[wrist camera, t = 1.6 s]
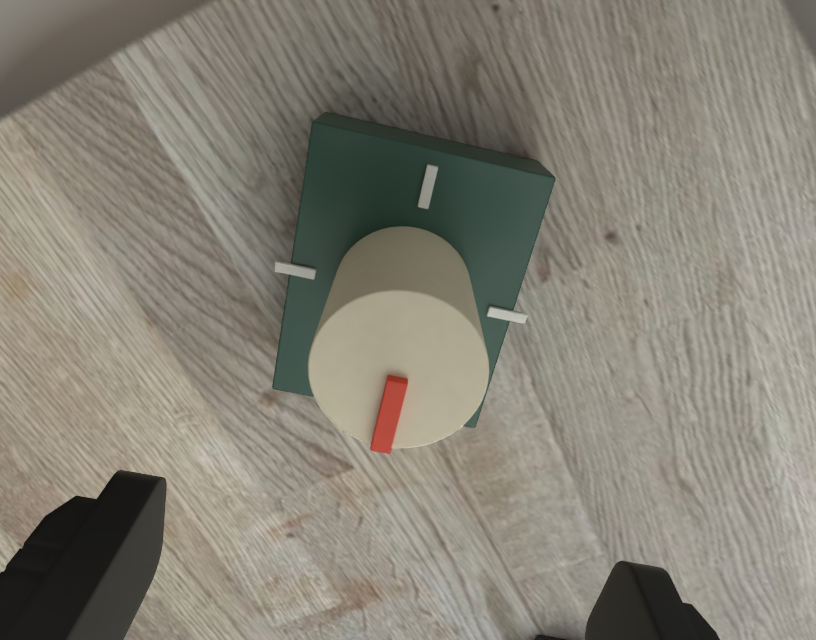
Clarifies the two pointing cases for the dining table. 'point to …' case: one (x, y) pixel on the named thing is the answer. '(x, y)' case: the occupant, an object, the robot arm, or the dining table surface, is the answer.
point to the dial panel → (408, 223)
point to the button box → (545, 638)
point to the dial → (399, 342)
